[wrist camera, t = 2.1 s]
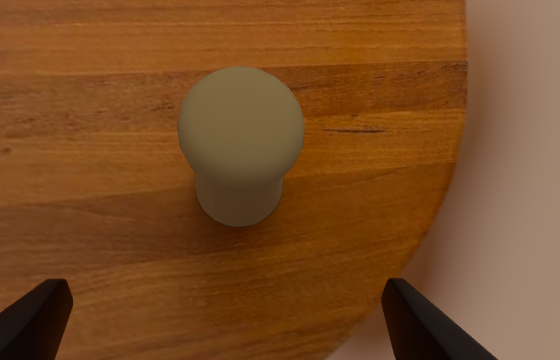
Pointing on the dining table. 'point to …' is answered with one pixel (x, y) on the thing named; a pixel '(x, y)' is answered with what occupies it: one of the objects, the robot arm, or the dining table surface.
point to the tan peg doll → (240, 142)
